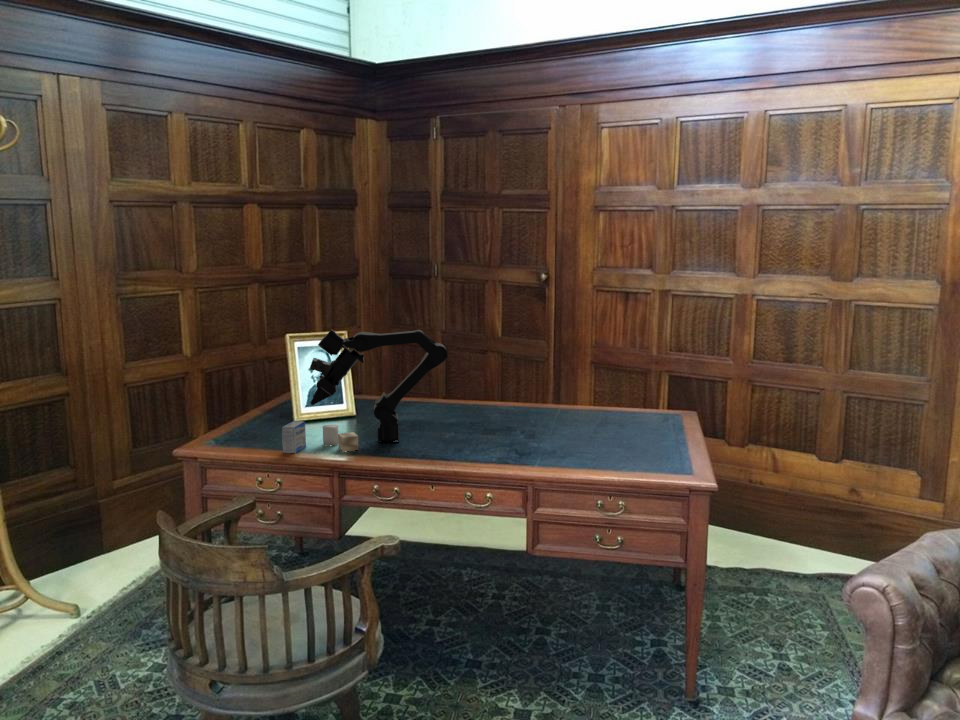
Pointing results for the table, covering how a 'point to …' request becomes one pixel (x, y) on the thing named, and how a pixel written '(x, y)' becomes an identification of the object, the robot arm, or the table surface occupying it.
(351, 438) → the beech cube
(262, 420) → the table surface
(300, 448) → the medicine box
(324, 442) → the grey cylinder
